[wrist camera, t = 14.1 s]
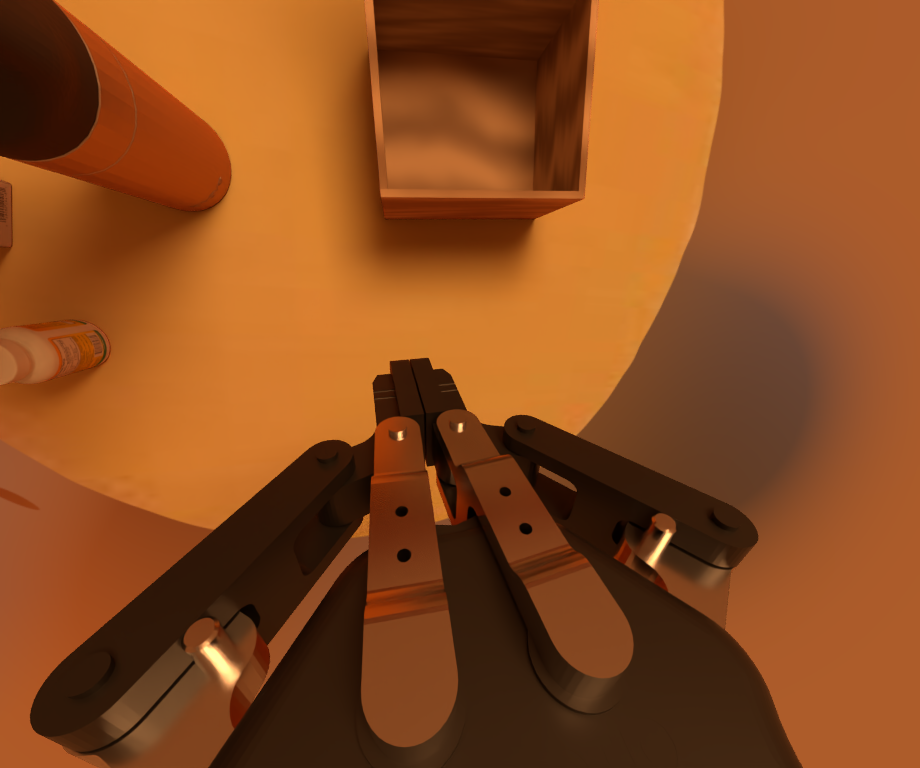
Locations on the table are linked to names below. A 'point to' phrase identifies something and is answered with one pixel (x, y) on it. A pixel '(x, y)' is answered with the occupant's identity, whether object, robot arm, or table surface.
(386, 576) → the robot arm
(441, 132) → the open wooden box
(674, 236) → the table surface
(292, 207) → the table surface
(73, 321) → the supplement bottle
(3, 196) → the coffee box
